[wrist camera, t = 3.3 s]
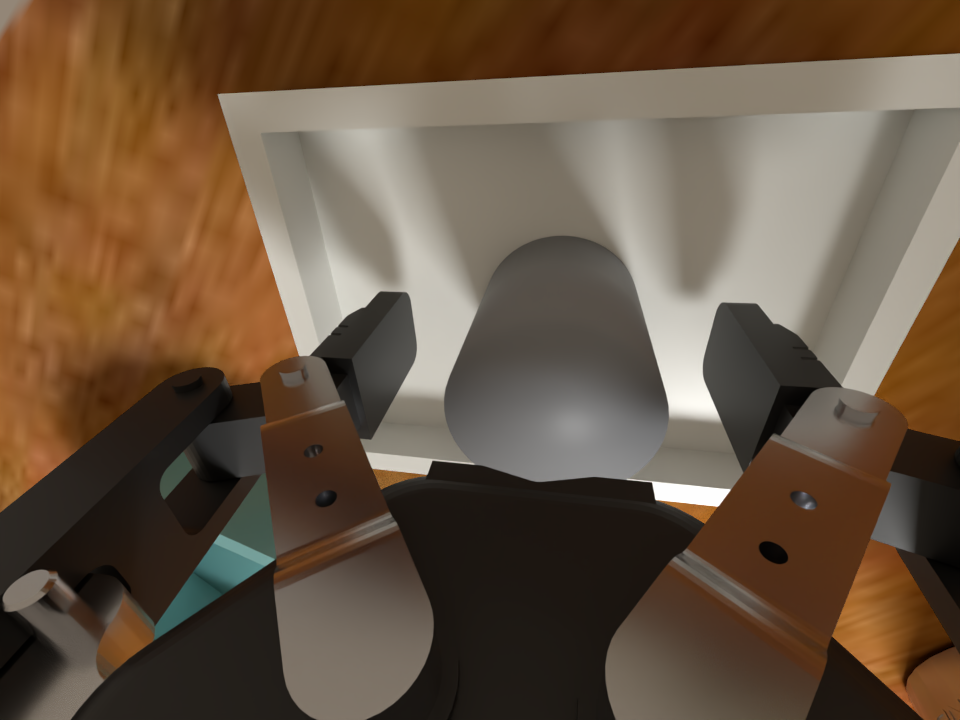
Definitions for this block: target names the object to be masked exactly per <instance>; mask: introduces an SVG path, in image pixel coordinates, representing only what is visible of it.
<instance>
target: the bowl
mask: <svg viewBox="0 0 960 720" xmlns="http://www.w3.org/2000/svg"><path fill="white" fill-rule="evenodd" d="M191 469H192V466H191V464H190V462H189V461H188V459H187V457H186V455H185V453H184V452H182V453H181V454H180V455H179V456H178V457H177V459H176V460H175V461H174V462H173V463H172V464H171V465H170V466H169V467H168V468H167V469H166V470H165V472H164V474H163V476H162V478H161V482H160V493H161V495H162V497H163V499H165V498H166V497H167V496H168V495H169V494H170V493H171V491H172V490H173V489H174V488H175V487H176V486H177V485H178V484H179V482H180V481H181V480H182V479H183V478H184V477H185V476H186V475H187V473H188V472H189V471H190V470H191ZM275 559H276V551H275V543H274V535H273V527H272V519H271V511H270V503H269V495H268V487H267V479H266V473H265V474H261V476H260V478H259V479H258V480H257V482H256V483H255V485H254V486H253V488H252V489H251V490H250V492H249V493H248V495H247V496H246V498H245V499H244V500H243V502H242V503H241V505H240V506H239V508H238V509H237V510H236V512H235V513H234V515H233V516H232V517H231V519H230V520H229V522H228V523H227V525H226V526H225V527H224V529H223V530H222V532H221V533H220V535H219V536H218V537H217V539H216V540H215V542H214V543H213V545H212V546H211V547H210V549H209V550H208V552H207V553H206V554H205V556H204V557H203V559H202V560H201V562H200V563H199V564H198V566H197V567H196V569H195V570H194V572H193V573H192V574H191V576H190V577H189V579H188V580H187V582H186V583H185V584H184V586H183V587H182V589H181V590H180V591H179V593H178V594H177V596H176V597H175V599H174V600H173V601H172V603H171V604H170V606H169V607H168V609H167V610H166V611H165V613H164V614H163V616H162V617H161V619H160V620H159V621H158V623H157V624H156V626H155V636H154V640H156V639H157V638H159V637H160V636H162V635H163V634H165V633H166V632H168V631H169V630H171V629H172V628H174V627H175V626H177V625H178V624H180V623H181V622H183V621H184V620H186V619H187V618H189V617H190V616H192V615H193V614H195V613H196V612H198V611H199V610H201V609H202V608H203V607H205V606H206V605H208V604H209V603H211V602H212V601H214V600H215V599H217V598H218V597H220V596H221V595H223V594H224V593H226V592H227V591H229V590H230V589H232V588H233V587H235V586H236V585H238V584H239V583H241V582H242V581H244V580H245V579H247V578H248V577H250V576H251V575H253V574H254V573H256V572H257V571H259V570H260V569H262V568H263V567H265V566H266V565H268V564H269V563H271V562H272V561H274V560H275ZM154 640H153V641H154Z"/></svg>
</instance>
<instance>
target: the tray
mask: <svg viewBox="0 0 960 720" xmlns="http://www.w3.org/2000/svg"><path fill="white" fill-rule="evenodd" d="M218 98H219V101H220V104H221V107H222V110H223V114H224V117H225V120H226V123H227V126H228V130H229V133H230V136H231V139H232V142H233V146H234V149H235V152H236V155H237V158H238V162H239V165H240V168H241V171H242V174H243V178H244V181H245V184H246V187H247V190H248V194H249V197H250V200H251V203H252V206H253V210H254V213H255V216H256V219H257V222H258V226H259V229H260V232H261V235H262V238H263V242H264V245H265V248H266V251H267V254H268V258H269V261H270V264H271V267H272V270H273V274H274V277H275V280H276V283H277V286H278V290H279V293H280V296H281V299H282V302H283V305H284V309H285V312H286V315H287V318H288V321H289V325H290V328H291V331H292V334H293V337H294V341H295V344H296V347H297V350H298V353H299V356H310V355H311V354H312V352H313V351H314V350H315V349H316V348H317V347H318V346H319V345H320V344H321V343H322V342H323V341H324V340H325V339H326V338H327V337H328V335H331V332H332V331H333V330H334V329H335V328H336V327H338V325H339V324H340V323H341V322H342V321H343V320H344V319H345V317H346V316H347V315H349V314H351V313H353V312H355V311H357V310H358V309H360V308H365V307H366V306H367V305H368V304H369V303H370V302H371V300H372V299H373V298H374V297H375V296H376V295H377V294H378V293H379V292H380V291H388V292H407V293H408V294H409V297H410V300H411V306H412V313H413V320H414V327H415V334H416V341H417V353H416V358H415V362H414V364H413V366H412V367H411V369H410V371H409V373H408V375H407V376H406V378H405V380H404V382H403V384H402V385H401V387H400V389H399V391H398V393H397V394H396V396H395V398H394V400H393V402H392V403H391V405H390V407H389V409H388V411H387V412H386V414H385V416H384V418H383V420H382V421H381V423H380V425H379V427H378V429H377V430H376V432H375V434H374V436H373V438H372V440H369V439H360V440H361V443H362V445H363V448H364V450H365V453H366V455H367V457H368V460H369V462H370V465H371V467H372V469H381V470H390V471H399V472H408V473H417V474H426V475H427V474H428V472H429V469H430V466H431V463H432V461H442V462H452V463H462V464H472V465H475V464H474V463H473V462H472V461H470V460H469V459H468V458H467V456H466V455H465V454H464V453H463V452H462V451H461V449H460V448H459V447H458V445H457V444H456V442H455V441H454V439H453V437H452V435H451V433H450V431H449V428H448V425H447V422H446V418H445V412H444V395H445V389H446V385H447V382H448V379H449V376H450V374H451V372H452V369H453V367H454V364H455V362H456V360H457V357H458V355H459V353H460V350H461V348H462V345H463V343H464V341H465V338H466V336H467V334H468V331H469V329H470V326H471V324H472V322H473V319H474V317H475V315H476V312H477V310H478V308H479V305H480V303H481V300H482V298H483V296H484V293H485V291H486V289H487V286H488V284H489V281H490V279H491V277H492V275H493V273H494V272H495V270H496V269H497V267H498V266H499V264H500V263H501V262H502V261H503V260H504V259H505V258H506V257H507V256H508V255H509V254H511V253H512V252H513V251H514V250H516V249H518V248H519V247H521V246H522V245H525V244H527V243H529V242H531V241H534V240H537V239H540V238H545V237H550V236H575V237H580V238H584V239H587V240H590V241H593V242H596V243H598V244H599V245H601V246H603V247H605V248H607V249H608V250H609V251H611V252H612V253H613V254H615V255H616V256H617V257H618V258H619V259H620V260H621V261H622V263H623V264H624V265H625V266H626V268H627V269H628V271H629V273H630V274H631V276H632V279H633V281H634V284H635V287H636V290H637V294H638V297H639V301H640V304H641V308H642V311H643V315H644V318H645V322H646V325H647V329H648V332H649V336H650V339H651V343H652V346H653V350H654V353H655V357H656V360H657V364H658V367H659V371H660V374H661V377H662V381H663V384H664V388H665V391H666V396H667V400H668V405H669V421H668V428H667V432H666V434H665V437H664V440H663V442H662V444H661V446H660V448H659V450H658V451H657V453H656V454H655V455H654V457H653V458H652V459H651V461H650V462H649V463H648V464H647V465H645V466H644V467H643V468H642V469H641V470H640V471H639V472H637V473H636V474H635V475H633V476H632V477H630V478H628V479H627V480H633V481H643V482H652V484H653V489H654V494H655V500H663V501H672V502H682V503H691V504H700V505H709V506H719V505H720V503H721V502H722V501H723V499H724V498H725V497H726V495H727V494H728V493H729V491H730V490H731V489H732V488H733V486H734V485H735V484H736V482H737V481H738V480H739V478H740V477H741V476H742V474H743V471H742V468H741V466H740V464H739V461H738V459H737V457H736V454H735V452H734V450H733V447H732V445H731V443H730V440H729V438H728V436H727V433H726V431H725V429H724V426H723V424H722V422H721V419H720V417H719V415H718V412H717V410H716V408H715V405H714V403H713V400H712V398H711V396H710V393H709V391H708V389H707V386H706V384H705V382H704V378H703V359H704V355H705V351H706V347H707V344H708V340H709V336H710V332H711V329H712V325H713V321H714V318H715V314H716V311H717V308H718V306H719V305H720V304H721V303H722V302H728V303H756V304H758V305H759V306H760V308H761V309H762V310H763V311H764V313H765V314H766V315H767V316H768V318H769V319H770V320H771V321H772V323H773V324H780V325H782V326H783V327H785V328H787V329H788V330H790V331H792V332H794V333H795V334H797V335H798V336H799V337H800V338H801V339H802V340H803V342H804V343H805V344H806V345H807V346H808V347H809V348H808V350H811V351H812V352H813V353H814V354H815V355H816V357H817V360H820V361H821V362H822V364H823V365H824V366H825V367H826V368H827V369H828V371H829V372H830V373H831V374H832V375H833V376H834V378H835V379H836V380H837V381H838V382H839V383H840V384H841V386H842V387H843V388H848V389H853V390H857V391H861V392H864V393H867V394H870V395H873V396H874V395H875V393H876V391H877V389H878V387H879V385H880V383H881V382H882V380H883V378H884V376H885V374H886V372H887V371H888V369H889V367H890V365H891V363H892V361H893V360H894V358H895V356H896V354H897V352H898V350H899V348H900V347H901V345H902V343H903V341H904V339H905V337H906V336H907V334H908V332H909V330H910V328H911V326H912V325H913V323H914V321H915V319H916V317H917V315H918V313H919V312H920V310H921V308H922V306H923V304H924V302H925V301H926V299H927V297H928V295H929V293H930V291H931V289H932V288H933V286H934V284H935V282H936V280H937V278H938V277H939V275H940V273H941V271H942V269H943V267H944V266H945V264H946V262H947V260H948V258H949V256H950V254H951V253H952V251H953V249H954V247H955V245H956V243H957V242H958V240H959V238H960V53H959V54H941V55H923V56H904V57H886V58H868V59H850V60H831V61H813V62H795V63H777V64H758V65H740V66H722V67H704V68H685V69H667V70H649V71H630V72H612V73H594V74H576V75H557V76H539V77H521V78H503V79H484V80H466V81H448V82H429V83H411V84H393V85H375V86H356V87H338V88H320V89H302V90H283V91H265V92H247V93H229V94H218Z"/></svg>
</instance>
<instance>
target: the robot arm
mask: <svg viewBox="0 0 960 720" xmlns="http://www.w3.org/2000/svg"><path fill="white" fill-rule="evenodd" d="M808 348H809V347H808V346H807V345H806V344H805V343H804V342H803V340H802V339H801V338H800V337H799V336H798V335H797V334H795V333H794V332H792V331H790V330H788V329H787V328H785V327H783V326H782V325H780V324H773V323H772V321H771V320H770V319H769V318H768V316H767V315H766V314H765V313H764V311H763V310H762V309H761V308H760V306H759V305H758V304H756V303H728V302H722V303H721V304H720V305H719V306H718V308H717V311H716V314H715V318H714V321H713V325H712V329H711V332H710V336H709V340H708V344H707V347H706V351H705V355H704V359H703V378H704V382H705V384H706V386H707V389H708V391H709V393H710V396H711V398H712V400H713V403H714V405H715V408H716V410H717V412H718V415H719V417H720V419H721V422H722V424H723V426H724V429H725V431H726V433H727V436H728V438H729V440H730V443H731V445H732V447H733V450H734V452H735V454H736V457H737V459H738V461H739V464H740V466H741V468H742V471H743V474H742V476H741V477H740V478H739V480H738V481H737V482H736V484H735V485H734V486H733V488H732V489H731V490H730V491H729V493H728V494H727V495H726V497H725V498H724V499H723V501H722V502H721V503H720V505H719V506H718V507H717V509H716V510H715V511H714V513H713V514H712V515H711V517H710V518H709V519H708V521H707V522H706V523H705V524H704V523H702V522H701V521H699V520H697V519H696V518H694V517H693V516H691V515H689V514H687V513H685V512H683V511H681V510H679V509H677V508H675V507H672V506H670V505H667V504H665V503H662V502H659V501H656V500H655V494H654V489H653V484H652V482H643V481H633V480H623V479H613V478H603V477H586V478H576V479H566V480H556V481H545V482H535V481H531V480H527V479H524V478H521V477H518V476H515V475H511V474H508V473H505V472H502V471H499V470H496V469H492V468H489V467H486V466H482V465H472V464H462V463H452V462H442V461H432V463H431V466H430V469H429V472H428V474H427V476H425V477H418V478H413V479H408V480H405V481H402V482H399V483H396V484H393V485H391V486H388V487H386V488H384V489H382V490H381V489H380V487H379V484H378V482H377V479H376V477H375V474H374V472H373V470H372V467H371V465H370V462H369V460H368V457H367V455H366V453H365V450H364V448H363V445H362V443H361V440H360V439H369V440H372V438H373V436H374V434H375V432H376V430H377V429H378V427H379V425H380V423H381V421H382V420H383V418H384V416H385V414H386V412H387V411H388V409H389V407H390V405H391V403H392V402H393V400H394V398H395V396H396V394H397V393H398V391H399V389H400V387H401V385H402V384H403V382H404V380H405V378H406V376H407V375H408V373H409V371H410V369H411V367H412V366H413V364H414V362H415V358H416V353H417V341H416V334H415V327H414V320H413V313H412V306H411V300H410V297H409V294H408V293H407V292H388V291H380V292H379V293H378V294H377V295H376V296H375V297H374V298H373V299H372V300H371V302H370V303H369V304H368V305H367V306H366V307H365V308H360V309H358V310H357V311H355V312H353V313H351V314H349V315H347V316H346V317H345V319H344V320H343V321H342V322H341V323H340V324H339V325H338V327H336V328H335V329H334V330H333V331H332V332H331V335H328V337H327V338H326V339H325V340H324V341H323V342H322V343H321V344H320V345H319V346H318V347H317V348H316V349H315V350H314V351H313V352H312V354H311V355H310V356H298V357H293V358H289V359H286V360H283V361H280V362H278V363H276V364H274V365H273V366H271V367H270V368H268V369H267V370H266V371H265V372H264V373H263V374H262V376H261V379H260V382H258V383H250V384H242V385H235V386H229V384H228V382H227V380H226V377H225V375H224V373H223V372H222V371H221V370H219V369H217V368H210V367H206V368H197V369H192V370H188V371H185V372H182V373H179V374H177V375H174V376H172V377H170V378H168V379H167V380H165V381H164V382H162V383H161V384H159V385H158V386H157V387H156V388H154V389H153V390H152V391H151V392H149V393H148V394H147V395H146V396H145V397H143V398H142V399H141V400H140V401H138V402H137V403H136V404H135V405H133V406H132V407H131V408H130V409H128V410H127V411H126V412H125V413H123V414H122V415H121V416H120V417H118V418H117V419H116V420H115V421H114V422H112V423H111V424H110V425H109V426H107V427H106V428H105V429H104V430H102V431H101V432H100V433H99V434H97V435H96V436H95V437H94V438H92V439H91V440H90V441H89V442H87V443H86V444H85V445H84V446H82V447H81V448H80V449H79V450H78V451H76V452H75V453H74V454H73V455H71V456H70V457H69V458H68V459H66V460H65V461H64V462H63V463H61V464H60V465H59V466H58V467H56V468H55V469H54V470H53V471H51V472H50V473H49V474H48V475H47V476H45V477H44V478H43V479H42V480H40V481H39V482H38V483H37V484H35V485H34V486H33V487H32V488H30V489H29V490H28V491H27V492H25V493H24V494H23V495H22V496H20V497H19V498H18V499H17V500H16V501H14V502H13V503H12V504H11V505H9V506H8V507H7V508H6V509H4V510H3V511H2V512H1V513H0V720H960V441H956V440H952V439H948V438H943V437H939V436H935V435H931V434H926V433H922V432H918V431H914V430H910V429H907V428H908V423H907V420H906V418H905V417H904V415H903V414H902V413H901V412H900V411H899V410H897V409H896V408H895V407H893V406H892V405H890V404H889V403H887V402H885V401H884V400H882V399H879V398H877V397H875V396H873V395H870V394H867V393H864V392H861V391H857V390H853V389H848V388H843V387H842V386H841V384H840V383H839V382H838V381H837V380H836V379H835V378H834V376H833V375H832V374H831V373H830V372H829V371H828V369H827V368H826V367H825V366H824V365H823V364H822V362H821V361H820V360H817V357H816V355H815V354H814V353H813V352H812V351H811V350H808ZM182 452H184V453H185V455H186V457H187V459H188V461H189V462H190V464H191V466H192V469H191V470H190V471H189V472H188V473H187V475H186V476H185V477H184V478H183V479H182V480H181V481H180V482H179V484H178V485H177V486H176V487H175V488H174V489H173V490H172V491H171V493H170V494H169V495H168V496H167V497H166V498H165V499H163V497H162V495H161V493H160V482H161V478H162V476H163V474H164V472H165V470H166V469H167V468H168V467H169V466H170V465H171V464H172V463H173V462H174V461H175V460H176V459H177V457H178V456H179V455H180V454H181V453H182ZM265 473H266V479H267V487H268V495H269V503H270V511H271V519H272V527H273V535H274V543H275V551H276V559H275V560H274V561H272V562H271V563H269V564H268V565H266V566H265V567H263V568H262V569H260V570H259V571H257V572H256V573H254V574H253V575H251V576H250V577H248V578H247V579H245V580H244V581H242V582H241V583H239V584H238V585H236V586H235V587H233V588H232V589H230V590H229V591H227V592H226V593H224V594H223V595H221V596H220V597H218V598H217V599H215V600H214V601H212V602H211V603H209V604H208V605H206V606H205V607H203V608H202V609H201V610H199V611H198V612H196V613H195V614H193V615H192V616H190V617H189V618H187V619H186V620H184V621H183V622H181V623H180V624H178V625H177V626H175V627H174V628H172V629H171V630H169V631H168V632H166V633H165V634H163V635H162V636H160V637H159V638H157V639H156V640H154V636H155V626H156V624H157V623H158V621H159V620H160V619H161V617H162V616H163V614H164V613H165V611H166V610H167V609H168V607H169V606H170V604H171V603H172V601H173V600H174V599H175V597H176V596H177V594H178V593H179V591H180V590H181V589H182V587H183V586H184V584H185V583H186V582H187V580H188V579H189V577H190V576H191V574H192V573H193V572H194V570H195V569H196V567H197V566H198V564H199V563H200V562H201V560H202V559H203V557H204V556H205V554H206V553H207V552H208V550H209V549H210V547H211V546H212V545H213V543H214V542H215V540H216V539H217V537H218V536H219V535H220V533H221V532H222V530H223V529H224V527H225V526H226V525H227V523H228V522H229V520H230V519H231V517H232V516H233V515H234V513H235V512H236V510H237V509H238V508H239V506H240V505H241V503H242V502H243V500H244V499H245V498H246V496H247V495H248V493H249V492H250V490H251V489H252V488H253V486H254V485H255V483H256V482H257V480H258V479H259V478H260V476H261V474H265ZM870 539H873V540H876V541H879V542H882V543H885V544H888V545H891V546H894V547H895V548H896V550H897V552H898V553H899V555H900V557H901V558H902V560H903V562H904V563H905V565H906V567H907V568H908V570H909V571H910V573H911V575H912V576H913V578H914V580H915V581H916V583H917V585H918V586H919V588H920V590H921V591H922V593H923V595H924V596H925V598H926V600H927V601H928V603H929V604H930V606H931V608H932V609H933V611H934V613H935V614H936V616H937V618H938V619H939V621H940V623H941V624H942V626H943V628H944V629H945V631H946V632H947V634H948V636H949V637H950V639H951V641H952V642H953V644H954V646H955V647H953V648H949V649H947V650H945V651H943V652H941V653H939V654H937V655H935V656H932V657H930V658H929V659H927V660H926V661H924V662H923V663H922V664H920V665H919V666H918V667H916V668H915V669H914V671H913V672H912V674H911V675H910V676H909V678H908V680H907V685H906V691H907V693H908V696H909V699H910V701H911V703H912V704H913V706H914V708H915V710H916V712H917V713H916V712H915V711H914V710H912V709H911V708H910V707H909V706H908V705H907V704H906V703H905V702H904V701H903V700H901V699H900V698H899V697H898V696H897V695H896V694H895V693H894V692H893V691H891V690H890V689H889V688H888V687H887V686H886V685H885V684H884V683H883V682H882V681H880V680H879V679H878V678H877V677H876V676H875V675H874V674H873V673H872V672H870V671H869V670H868V669H867V668H866V667H865V666H864V665H863V664H862V663H861V662H859V661H858V660H857V659H856V658H855V657H854V656H853V655H852V654H851V653H849V652H848V651H847V650H846V649H845V648H844V647H843V646H842V645H841V644H840V643H838V642H837V641H836V640H835V639H834V638H833V637H832V634H833V632H834V629H835V627H836V624H837V622H838V619H839V617H840V614H841V612H842V609H843V607H844V604H845V601H846V599H847V596H848V594H849V591H850V589H851V586H852V584H853V581H854V579H855V576H856V574H857V571H858V569H859V566H860V564H861V561H862V558H863V556H864V553H865V551H866V548H867V546H868V543H869V541H870ZM153 640H154V641H153Z"/></svg>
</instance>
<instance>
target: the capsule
mask: <svg viewBox="0 0 960 720" xmlns="http://www.w3.org/2000/svg"><path fill="white" fill-rule="evenodd" d="M444 412H445V418H446V422H447V425H448V428H449V431H450V433H451V435H452V437H453V439H454V441H455V442H456V444H457V445H458V447H459V448H460V449H461V451H462V452H463V453H464V454H465V455H466V456H467V458H468V459H469V460H470V461H472V462H473V463H474V464H475V465H482V466H486V467H489V468H492V469H496V470H499V471H502V472H505V473H508V474H511V475H515V476H518V477H521V478H524V479H527V480H531V481H535V482H545V481H556V480H566V479H576V478H586V477H603V478H613V479H623V480H627V479H628V478H630V477H632V476H633V475H635V474H636V473H637V472H639V471H640V470H641V469H642V468H643V467H644V466H645V465H647V464H648V463H649V462H650V461H651V459H652V458H653V457H654V455H655V454H656V453H657V451H658V450H659V448H660V446H661V444H662V442H663V440H664V437H665V434H666V432H667V428H668V421H669V405H668V400H667V396H666V391H665V388H664V384H663V381H662V377H661V374H660V371H659V367H658V364H657V360H656V357H655V353H654V350H653V346H652V343H651V339H650V336H649V332H648V329H647V325H646V322H645V318H644V315H643V311H642V308H641V304H640V301H639V297H638V294H637V290H636V287H635V284H634V281H633V279H632V276H631V274H630V273H629V271H628V269H627V268H626V266H625V265H624V264H623V263H622V261H621V260H620V259H619V258H618V257H617V256H616V255H615V254H613V253H612V252H611V251H609V250H608V249H607V248H605V247H603V246H601V245H599V244H598V243H596V242H593V241H590V240H587V239H584V238H580V237H575V236H550V237H545V238H540V239H537V240H534V241H531V242H529V243H527V244H525V245H522V246H521V247H519V248H518V249H516V250H514V251H513V252H512V253H511V254H509V255H508V256H507V257H506V258H505V259H504V260H503V261H502V262H501V263H500V264H499V266H498V267H497V269H496V270H495V272H494V273H493V275H492V277H491V279H490V281H489V284H488V286H487V289H486V291H485V293H484V296H483V298H482V300H481V303H480V305H479V308H478V310H477V312H476V315H475V317H474V319H473V322H472V324H471V326H470V329H469V331H468V334H467V336H466V338H465V341H464V343H463V345H462V348H461V350H460V353H459V355H458V357H457V360H456V362H455V364H454V367H453V369H452V372H451V374H450V376H449V379H448V382H447V385H446V389H445V395H444Z"/></svg>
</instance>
